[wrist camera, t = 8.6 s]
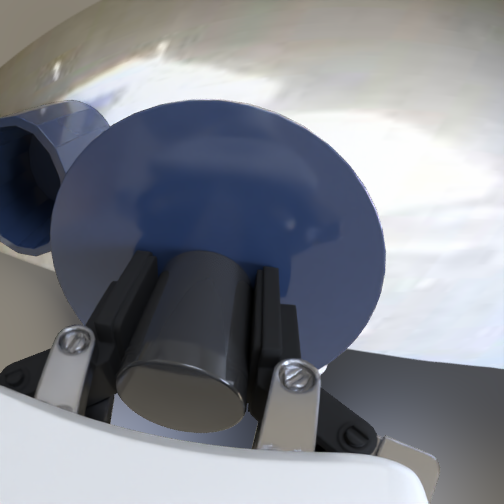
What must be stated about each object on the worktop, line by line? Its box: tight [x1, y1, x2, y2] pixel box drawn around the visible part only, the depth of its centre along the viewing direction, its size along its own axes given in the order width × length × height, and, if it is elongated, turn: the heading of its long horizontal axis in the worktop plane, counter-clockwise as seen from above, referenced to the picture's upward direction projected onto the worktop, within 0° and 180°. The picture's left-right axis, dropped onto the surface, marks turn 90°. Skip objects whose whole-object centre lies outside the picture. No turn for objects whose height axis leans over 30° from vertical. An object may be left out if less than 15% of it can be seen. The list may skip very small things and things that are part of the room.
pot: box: [0, 100, 110, 256], centre depth 24 cm, size 13×18×10 cm
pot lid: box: [50, 99, 386, 433], centre depth 10 cm, size 14×14×6 cm
